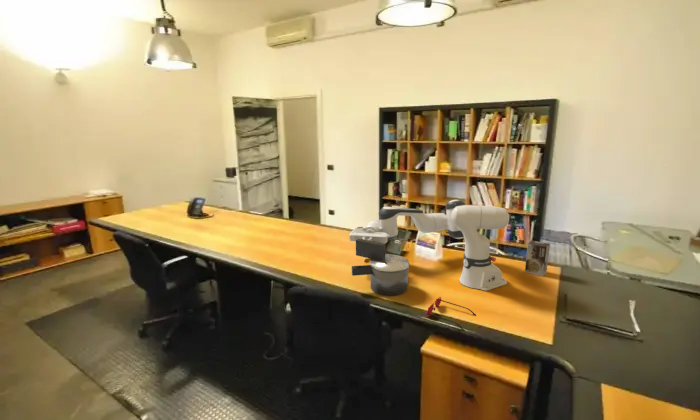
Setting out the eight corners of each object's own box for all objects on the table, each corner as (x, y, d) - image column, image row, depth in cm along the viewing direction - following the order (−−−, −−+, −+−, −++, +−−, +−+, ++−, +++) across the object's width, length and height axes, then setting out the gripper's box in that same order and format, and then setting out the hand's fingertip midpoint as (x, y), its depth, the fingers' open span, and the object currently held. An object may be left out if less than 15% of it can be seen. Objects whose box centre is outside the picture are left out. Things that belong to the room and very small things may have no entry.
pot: (402, 277, 177) (402, 256, 174) (412, 294, 160) (413, 270, 157) (350, 281, 174) (349, 259, 171) (354, 298, 157) (354, 274, 154)
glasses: (438, 304, 152) (439, 294, 150) (476, 316, 142) (477, 305, 141) (424, 318, 141) (425, 307, 140) (464, 332, 131) (465, 321, 130)
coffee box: (546, 272, 180) (550, 243, 176) (543, 276, 175) (547, 246, 171) (528, 268, 186) (531, 239, 182) (524, 271, 181) (527, 242, 177)
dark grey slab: (415, 261, 167) (415, 243, 165) (398, 275, 152) (398, 256, 150) (367, 250, 182) (366, 234, 179) (347, 262, 167) (346, 244, 164)
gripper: (389, 240, 186) (386, 249, 173) (352, 238, 191) (346, 246, 178) (389, 229, 184) (386, 237, 171) (352, 227, 189) (346, 234, 176)
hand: (365, 242), depth 174 cm, fingers closed
